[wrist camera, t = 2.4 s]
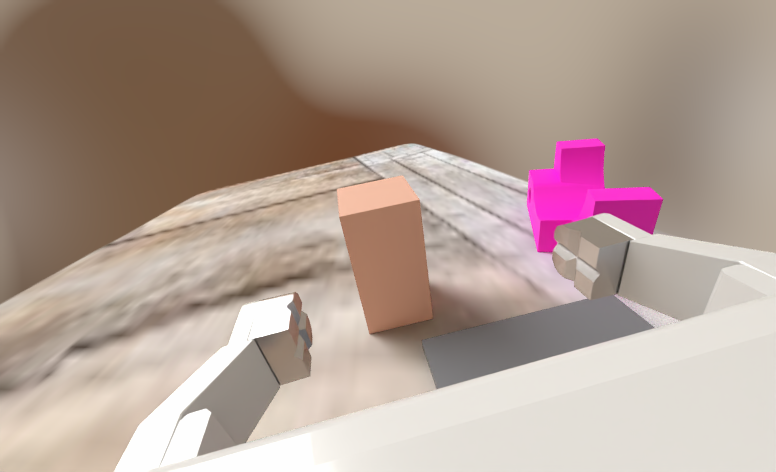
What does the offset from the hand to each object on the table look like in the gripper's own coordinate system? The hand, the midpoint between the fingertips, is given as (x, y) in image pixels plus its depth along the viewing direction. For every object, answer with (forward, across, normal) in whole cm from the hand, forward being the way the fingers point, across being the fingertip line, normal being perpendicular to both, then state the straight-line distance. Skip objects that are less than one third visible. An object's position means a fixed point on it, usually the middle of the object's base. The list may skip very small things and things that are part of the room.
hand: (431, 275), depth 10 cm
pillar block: (+12, +1, +12) cm, 17 cm away
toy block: (+16, -17, +12) cm, 27 cm away
